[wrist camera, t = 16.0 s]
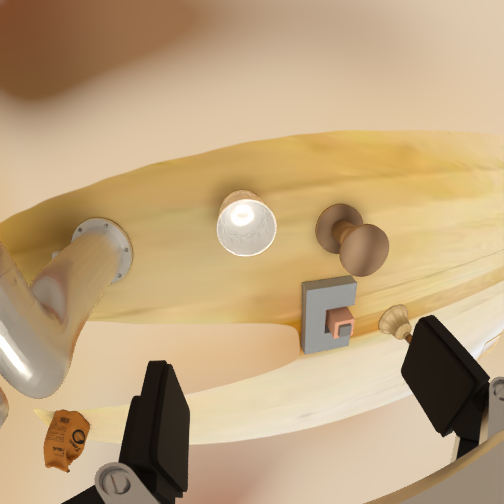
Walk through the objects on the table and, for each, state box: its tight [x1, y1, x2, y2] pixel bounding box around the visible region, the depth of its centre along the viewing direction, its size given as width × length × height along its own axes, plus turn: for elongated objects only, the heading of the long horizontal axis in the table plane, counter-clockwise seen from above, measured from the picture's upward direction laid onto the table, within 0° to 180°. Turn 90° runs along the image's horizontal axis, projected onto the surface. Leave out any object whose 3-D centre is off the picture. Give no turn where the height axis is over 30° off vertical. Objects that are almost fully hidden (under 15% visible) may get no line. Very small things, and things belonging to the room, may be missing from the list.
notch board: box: [301, 275, 357, 354], centre depth 55 cm, size 16×10×3 cm, turn 5°
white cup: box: [216, 190, 277, 256], centre depth 42 cm, size 8×8×10 cm
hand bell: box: [379, 305, 412, 344], centre depth 52 cm, size 8×8×16 cm
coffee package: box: [44, 410, 90, 473], centre depth 56 cm, size 10×12×22 cm
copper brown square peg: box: [325, 306, 355, 339], centre depth 53 cm, size 4×4×7 cm
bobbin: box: [316, 204, 389, 277], centre depth 44 cm, size 9×9×11 cm
